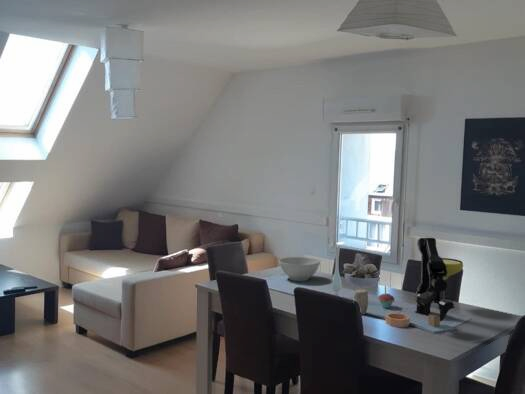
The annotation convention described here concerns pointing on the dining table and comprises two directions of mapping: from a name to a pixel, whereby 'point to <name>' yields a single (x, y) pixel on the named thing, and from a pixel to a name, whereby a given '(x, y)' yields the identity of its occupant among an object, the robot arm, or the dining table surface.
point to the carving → (362, 299)
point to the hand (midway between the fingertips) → (434, 318)
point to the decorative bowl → (299, 267)
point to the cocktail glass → (450, 270)
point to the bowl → (397, 320)
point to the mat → (434, 333)
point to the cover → (434, 324)
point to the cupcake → (386, 299)
